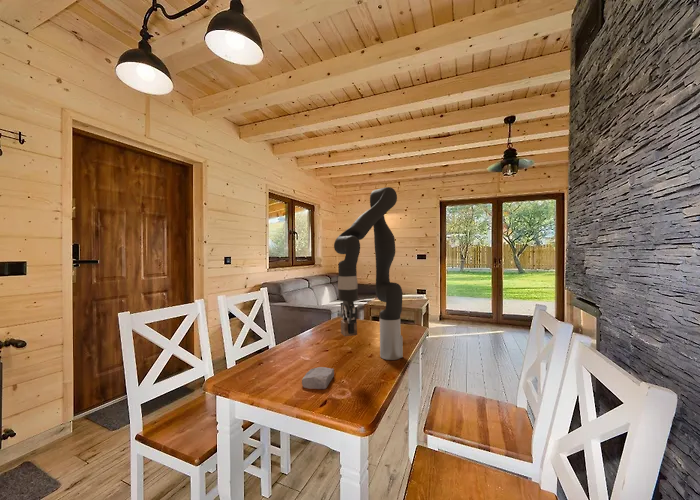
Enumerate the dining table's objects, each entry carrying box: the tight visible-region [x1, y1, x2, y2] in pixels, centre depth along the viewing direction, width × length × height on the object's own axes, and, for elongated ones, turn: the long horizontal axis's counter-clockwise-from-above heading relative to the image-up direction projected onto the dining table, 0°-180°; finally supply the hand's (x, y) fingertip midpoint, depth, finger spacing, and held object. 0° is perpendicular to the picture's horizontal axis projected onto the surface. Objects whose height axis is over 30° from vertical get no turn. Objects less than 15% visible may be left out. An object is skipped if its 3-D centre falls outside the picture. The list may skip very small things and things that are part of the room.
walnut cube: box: [340, 319, 358, 337], centre depth 111 cm, size 5×5×5 cm
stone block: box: [301, 366, 335, 390], centre depth 104 cm, size 12×5×10 cm
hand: (348, 331), depth 111 cm, fingers closed on walnut cube, 5 cm apart
